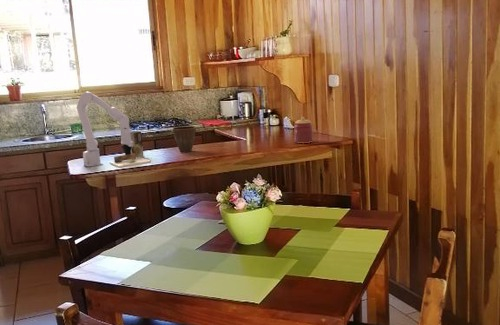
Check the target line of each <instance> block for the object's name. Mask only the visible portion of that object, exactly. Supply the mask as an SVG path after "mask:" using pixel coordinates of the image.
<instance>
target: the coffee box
mask: <svg viewBox="0 0 500 325" xmlns="http://www.w3.org/2000/svg"><path fill="white" fill-rule="evenodd" d="M130 135H131V141H133V143H132V148H131V152H130V154H134V153H135V154H136V158H140V157H144V154H145V153H144V147H143V137H142V131H139V130H132V131H130Z"/></svg>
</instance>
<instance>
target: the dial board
mask: <svg viewBox="0 0 500 325" xmlns="http://www.w3.org/2000/svg"><path fill="white" fill-rule="evenodd" d="M150 162H151V163H152V161H151V160H149V159H146V158H143V157H142V156H140V157H136V159H131V160H124V161H122V162H115V160H114V161H110V162H109V164H110V165H111V166H115V167H116V168H125V167H131V166H136V165H144V164H150Z"/></svg>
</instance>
